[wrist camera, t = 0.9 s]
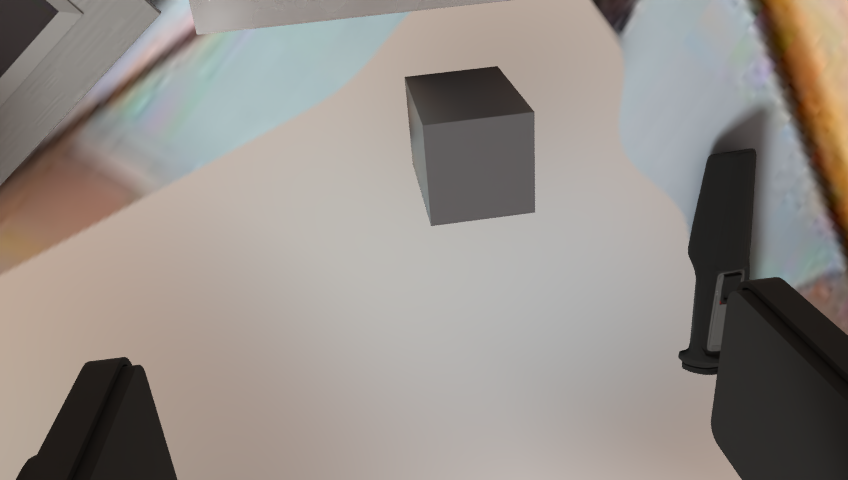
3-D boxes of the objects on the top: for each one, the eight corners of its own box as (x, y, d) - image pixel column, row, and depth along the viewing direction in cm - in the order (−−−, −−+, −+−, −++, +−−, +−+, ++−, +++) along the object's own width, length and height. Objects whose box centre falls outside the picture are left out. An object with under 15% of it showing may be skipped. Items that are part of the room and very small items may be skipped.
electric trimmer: (754, 127, 39) (787, 147, 37) (729, 353, 47) (754, 384, 44) (687, 137, 39) (715, 158, 36) (672, 363, 47) (695, 395, 44)
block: (404, 77, 35) (422, 125, 29) (497, 66, 35) (534, 112, 29) (412, 164, 37) (431, 225, 31) (500, 153, 38) (534, 212, 32)
